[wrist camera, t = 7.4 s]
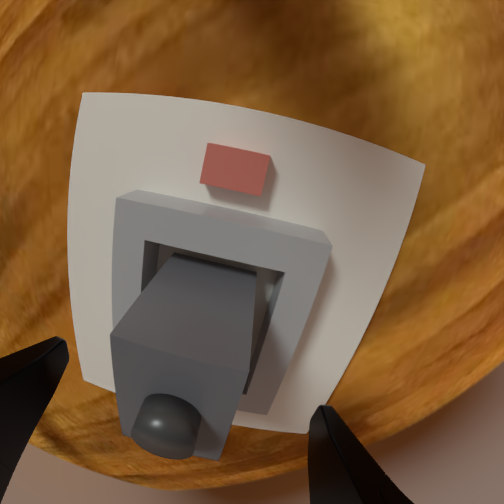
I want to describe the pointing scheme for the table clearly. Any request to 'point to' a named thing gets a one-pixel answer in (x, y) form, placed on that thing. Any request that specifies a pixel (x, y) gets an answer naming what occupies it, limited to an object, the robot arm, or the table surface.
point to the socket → (236, 233)
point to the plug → (184, 357)
